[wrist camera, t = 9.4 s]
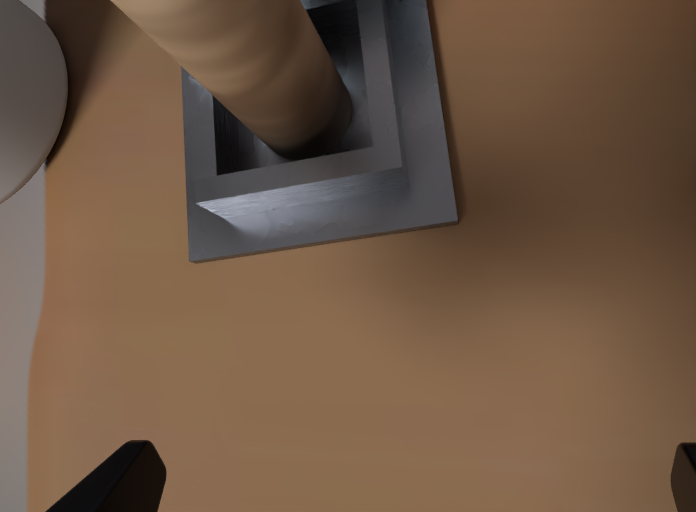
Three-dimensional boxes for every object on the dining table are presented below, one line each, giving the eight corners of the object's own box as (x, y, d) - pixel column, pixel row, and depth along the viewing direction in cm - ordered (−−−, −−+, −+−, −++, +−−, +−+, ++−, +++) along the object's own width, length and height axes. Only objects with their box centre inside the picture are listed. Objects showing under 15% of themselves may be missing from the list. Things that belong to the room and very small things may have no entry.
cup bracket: (458, 224, 22) (448, 142, 14) (195, 263, 25) (47, 215, 16) (421, -27, 25) (393, -230, 16) (185, 31, 27) (51, -118, 19)
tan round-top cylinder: (296, 184, 24) (70, -11, 11) (236, 114, 25) (-30, -137, 12) (376, 112, 23) (243, -182, 10) (311, 44, 25) (121, -292, 12)
